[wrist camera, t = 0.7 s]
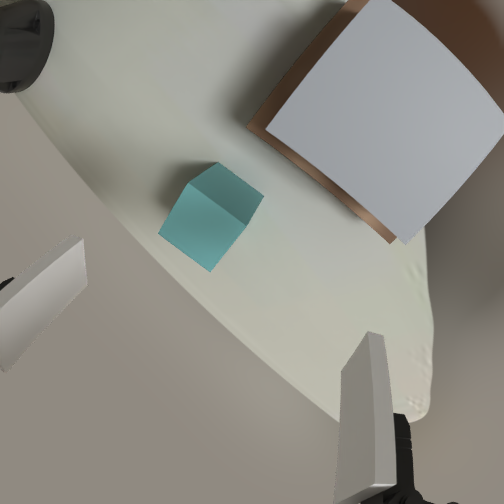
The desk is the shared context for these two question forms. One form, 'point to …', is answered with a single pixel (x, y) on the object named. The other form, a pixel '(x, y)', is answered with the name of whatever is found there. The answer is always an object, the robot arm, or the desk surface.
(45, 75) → the desk surface
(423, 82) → the tower top
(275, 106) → the tower base
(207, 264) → the block
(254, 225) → the desk surface
